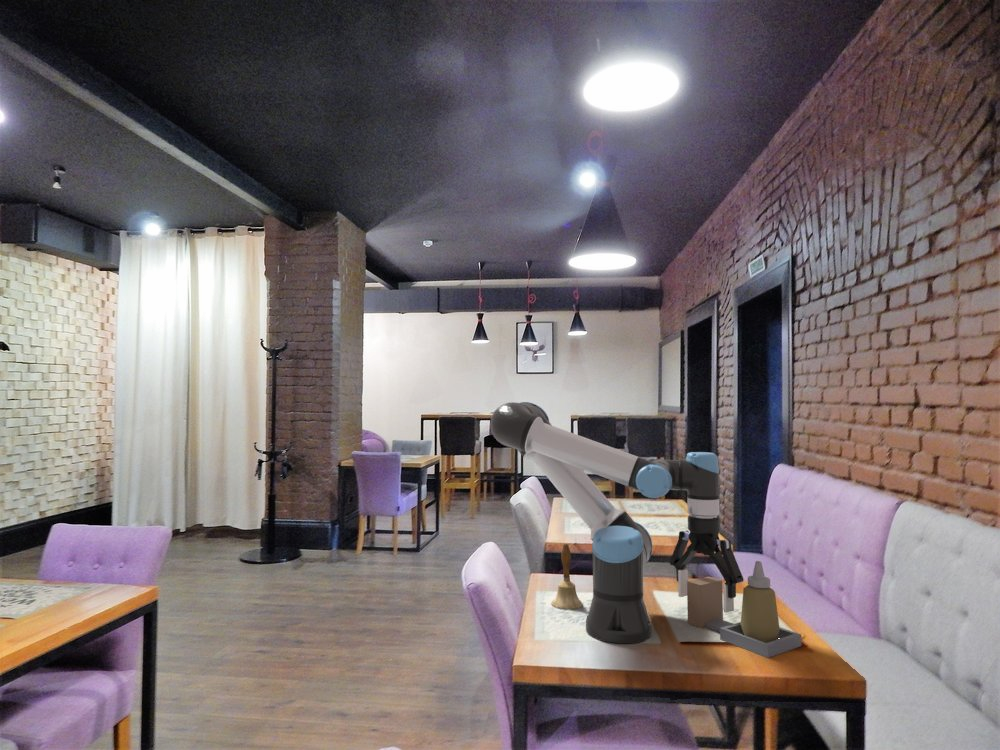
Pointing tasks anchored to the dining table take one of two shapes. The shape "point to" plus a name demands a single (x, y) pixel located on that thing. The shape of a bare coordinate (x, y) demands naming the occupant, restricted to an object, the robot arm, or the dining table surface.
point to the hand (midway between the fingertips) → (705, 603)
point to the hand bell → (566, 586)
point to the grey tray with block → (709, 613)
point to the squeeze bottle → (759, 608)
